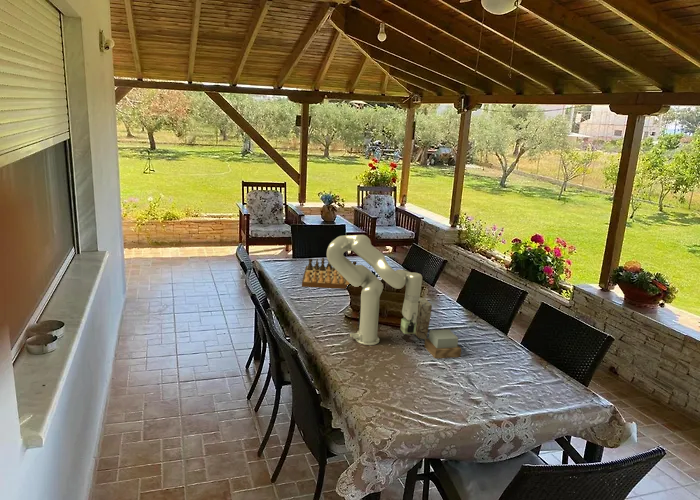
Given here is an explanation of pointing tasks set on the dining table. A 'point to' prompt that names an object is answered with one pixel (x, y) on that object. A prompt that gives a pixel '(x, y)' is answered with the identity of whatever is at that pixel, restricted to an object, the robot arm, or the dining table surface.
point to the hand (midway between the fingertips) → (408, 329)
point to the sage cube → (406, 326)
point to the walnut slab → (442, 350)
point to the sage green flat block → (443, 339)
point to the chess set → (323, 276)
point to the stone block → (423, 318)
